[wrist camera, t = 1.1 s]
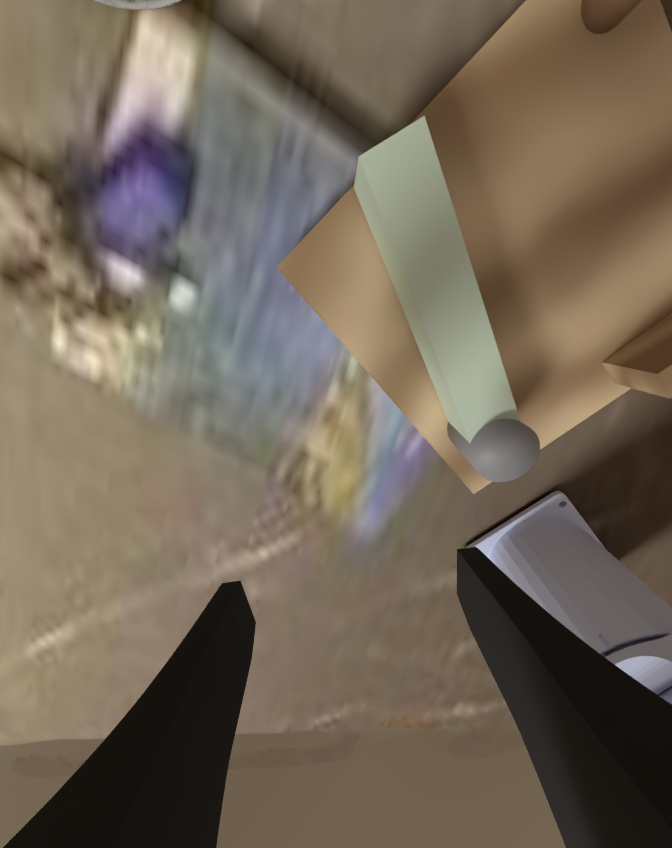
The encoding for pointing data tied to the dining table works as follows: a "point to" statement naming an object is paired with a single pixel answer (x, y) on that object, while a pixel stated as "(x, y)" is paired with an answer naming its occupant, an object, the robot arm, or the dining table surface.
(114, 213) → the dining table surface
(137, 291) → the dining table surface
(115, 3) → the ceramic mug
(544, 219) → the stool seat
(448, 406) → the leg
